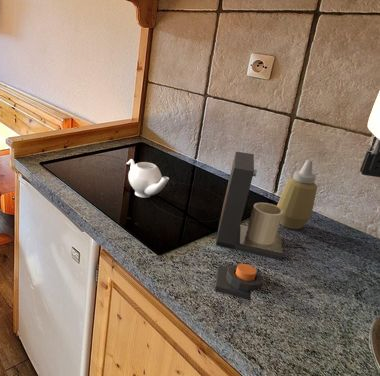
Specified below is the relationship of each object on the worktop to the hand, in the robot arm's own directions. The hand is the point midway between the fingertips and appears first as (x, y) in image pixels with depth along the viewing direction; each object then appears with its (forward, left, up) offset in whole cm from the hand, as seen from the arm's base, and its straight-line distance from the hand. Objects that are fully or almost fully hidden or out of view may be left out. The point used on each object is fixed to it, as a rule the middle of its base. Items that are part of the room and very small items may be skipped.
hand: (370, 174), depth 73 cm
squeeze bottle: (+5, -26, -25) cm, 37 cm away
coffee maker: (+15, -12, -25) cm, 32 cm away
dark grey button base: (+16, +8, -25) cm, 31 cm away
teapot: (+44, -26, -25) cm, 57 cm away
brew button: (+16, +8, -22) cm, 29 cm away
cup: (+13, -12, -24) cm, 29 cm away
